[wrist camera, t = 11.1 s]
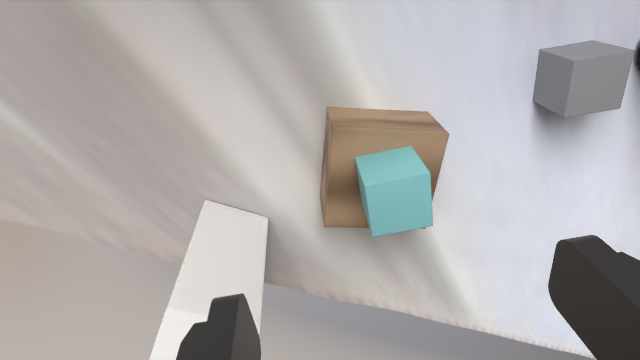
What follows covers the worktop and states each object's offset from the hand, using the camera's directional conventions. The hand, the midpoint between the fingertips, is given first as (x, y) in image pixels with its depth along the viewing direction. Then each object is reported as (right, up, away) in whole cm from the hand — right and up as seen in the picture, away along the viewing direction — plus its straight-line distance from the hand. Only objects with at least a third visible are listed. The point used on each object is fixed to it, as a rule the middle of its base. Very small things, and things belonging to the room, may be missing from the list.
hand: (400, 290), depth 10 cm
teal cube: (+4, +3, +24) cm, 25 cm away
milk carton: (-12, -3, +33) cm, 35 cm away
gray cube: (+21, +13, +27) cm, 37 cm away
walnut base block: (+3, +5, +30) cm, 31 cm away
